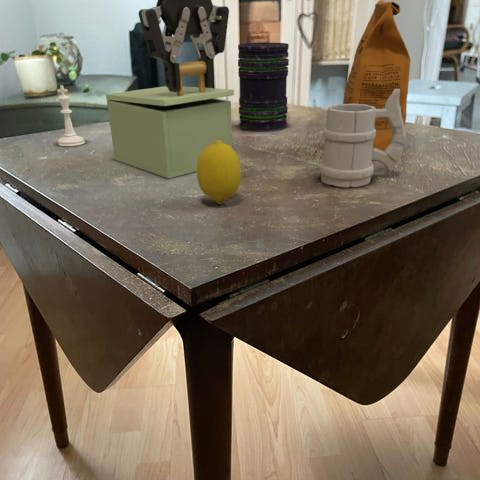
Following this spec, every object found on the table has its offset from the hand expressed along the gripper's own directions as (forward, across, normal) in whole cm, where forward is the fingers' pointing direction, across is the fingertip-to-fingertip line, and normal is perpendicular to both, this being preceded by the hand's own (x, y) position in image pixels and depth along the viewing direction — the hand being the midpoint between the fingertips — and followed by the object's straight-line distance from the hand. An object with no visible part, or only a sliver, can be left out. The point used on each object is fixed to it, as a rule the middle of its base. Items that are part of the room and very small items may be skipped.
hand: (190, 88), depth 79 cm
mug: (+12, -13, +22) cm, 28 cm away
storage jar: (+12, -29, -15) cm, 35 cm away
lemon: (+12, +8, +16) cm, 21 cm away
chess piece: (+12, +6, -30) cm, 33 cm away
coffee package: (+12, -27, +13) cm, 32 cm away
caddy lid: (+2, 0, -6) cm, 6 cm away
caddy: (+12, 0, -6) cm, 13 cm away
